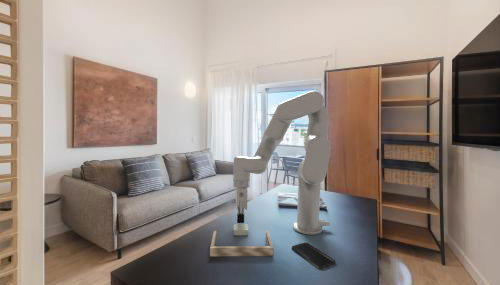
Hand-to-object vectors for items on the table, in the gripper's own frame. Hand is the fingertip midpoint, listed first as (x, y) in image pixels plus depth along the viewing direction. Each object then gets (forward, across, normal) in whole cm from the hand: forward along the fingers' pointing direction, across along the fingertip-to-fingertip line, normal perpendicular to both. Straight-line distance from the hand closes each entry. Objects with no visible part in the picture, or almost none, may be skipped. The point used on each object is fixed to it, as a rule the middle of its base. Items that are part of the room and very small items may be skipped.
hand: (240, 222), depth 107 cm
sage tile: (+2, -8, 0) cm, 8 cm away
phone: (+2, -26, -25) cm, 36 cm away
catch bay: (+1, -20, 0) cm, 20 cm away
